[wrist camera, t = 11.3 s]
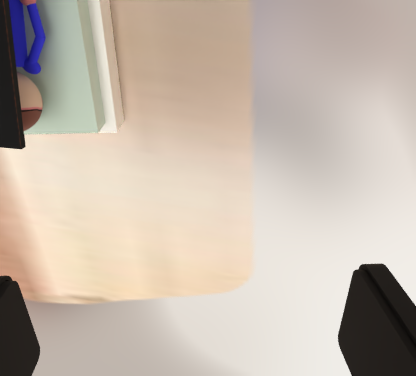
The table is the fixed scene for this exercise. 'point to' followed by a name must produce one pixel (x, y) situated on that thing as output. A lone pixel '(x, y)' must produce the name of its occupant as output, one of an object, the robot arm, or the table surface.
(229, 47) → the table surface
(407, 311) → the robot arm
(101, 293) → the table surface
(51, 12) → the pale green stepped box
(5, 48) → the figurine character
